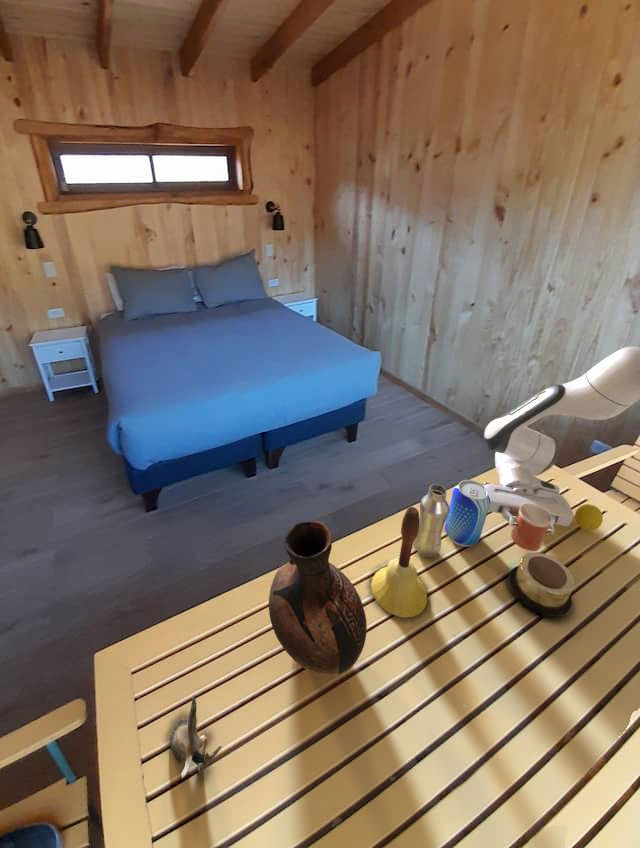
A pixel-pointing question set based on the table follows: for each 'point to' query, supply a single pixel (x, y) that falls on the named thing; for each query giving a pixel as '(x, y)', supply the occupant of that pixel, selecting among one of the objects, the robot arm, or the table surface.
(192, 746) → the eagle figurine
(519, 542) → the terracotta cup
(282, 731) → the table surface
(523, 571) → the tan hollow cylinder
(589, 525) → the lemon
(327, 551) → the ceramic vessel
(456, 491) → the beer can
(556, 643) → the table surface
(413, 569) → the handbell
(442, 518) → the silver metal bottle
